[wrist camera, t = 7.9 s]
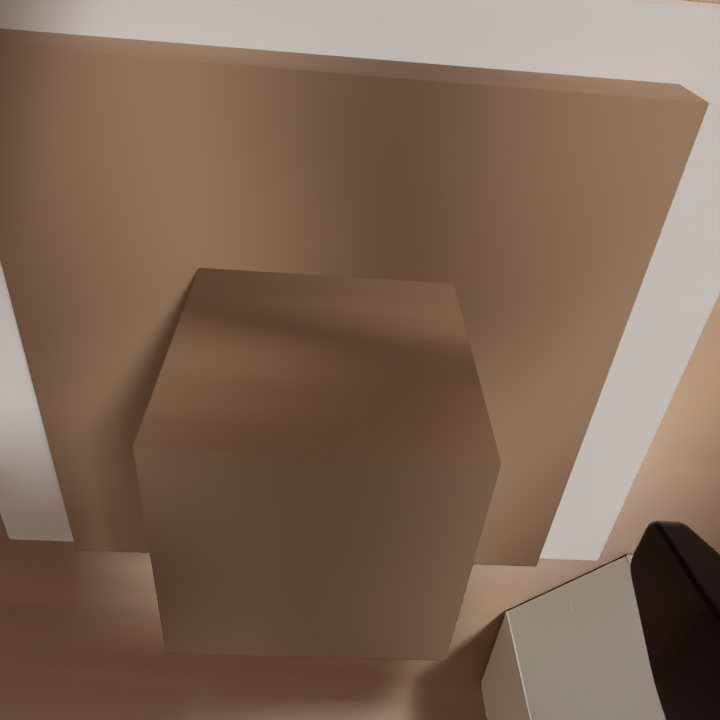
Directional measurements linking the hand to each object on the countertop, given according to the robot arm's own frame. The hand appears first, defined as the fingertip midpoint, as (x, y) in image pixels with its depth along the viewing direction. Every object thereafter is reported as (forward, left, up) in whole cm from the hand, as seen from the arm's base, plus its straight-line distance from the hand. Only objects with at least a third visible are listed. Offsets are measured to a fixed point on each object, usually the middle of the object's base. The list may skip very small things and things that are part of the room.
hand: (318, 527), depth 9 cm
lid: (0, 0, -4) cm, 4 cm away
